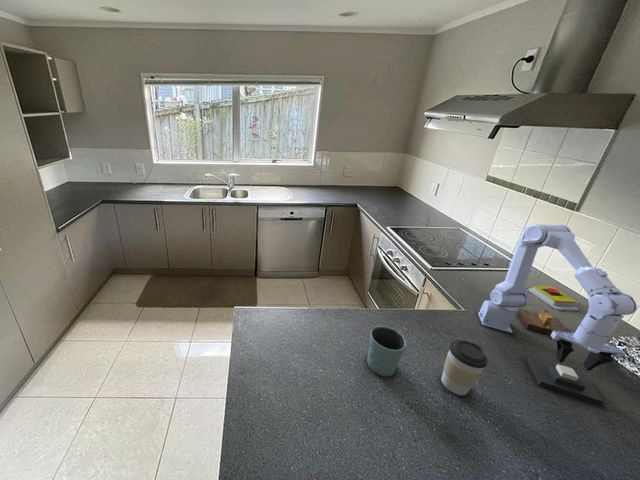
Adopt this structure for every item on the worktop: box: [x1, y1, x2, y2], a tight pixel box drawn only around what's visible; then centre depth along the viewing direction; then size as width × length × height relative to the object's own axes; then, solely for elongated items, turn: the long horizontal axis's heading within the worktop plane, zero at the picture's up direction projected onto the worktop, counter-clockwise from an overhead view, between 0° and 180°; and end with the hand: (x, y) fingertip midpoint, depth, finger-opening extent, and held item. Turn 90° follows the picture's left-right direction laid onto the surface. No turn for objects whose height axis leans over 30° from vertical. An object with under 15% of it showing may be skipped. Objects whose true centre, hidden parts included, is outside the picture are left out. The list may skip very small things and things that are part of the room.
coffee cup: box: [440, 339, 489, 396], centre depth 83 cm, size 9×9×15 cm
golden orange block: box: [539, 309, 553, 325], centre depth 109 cm, size 5×2×4 cm, turn 154°
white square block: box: [555, 363, 579, 381], centre depth 86 cm, size 4×4×2 cm
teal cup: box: [366, 325, 407, 377], centre depth 89 cm, size 10×10×12 cm
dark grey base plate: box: [526, 357, 604, 406], centre depth 87 cm, size 14×10×4 cm
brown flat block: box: [517, 308, 570, 336], centre depth 111 cm, size 12×10×3 cm
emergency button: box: [527, 285, 579, 312], centre depth 126 cm, size 9×4×15 cm
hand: (572, 363), depth 85 cm, fingers open, 6 cm apart
